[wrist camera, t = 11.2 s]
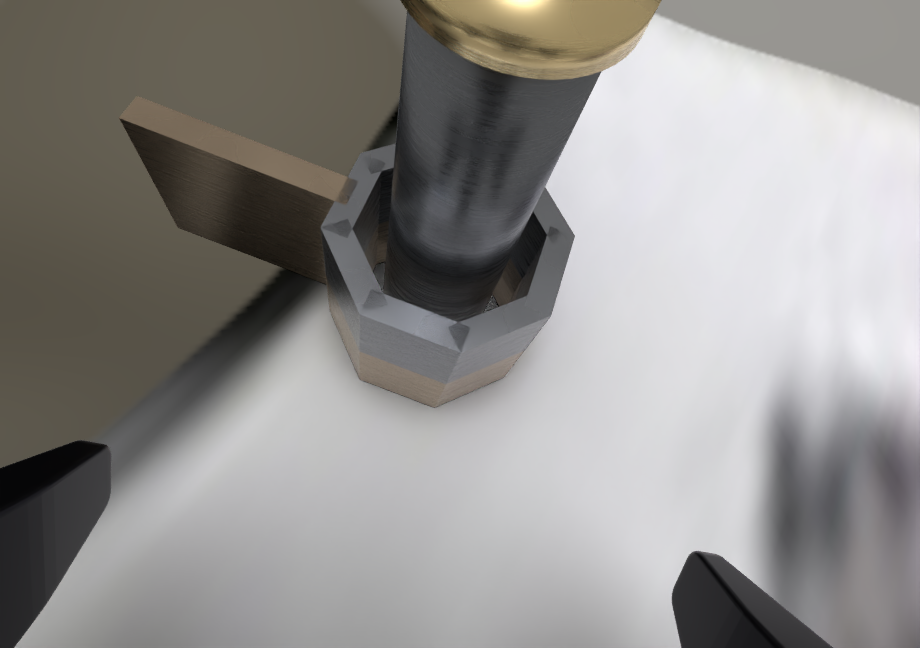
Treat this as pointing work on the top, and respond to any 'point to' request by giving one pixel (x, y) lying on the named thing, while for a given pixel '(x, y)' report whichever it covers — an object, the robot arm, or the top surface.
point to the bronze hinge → (348, 250)
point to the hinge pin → (487, 132)
